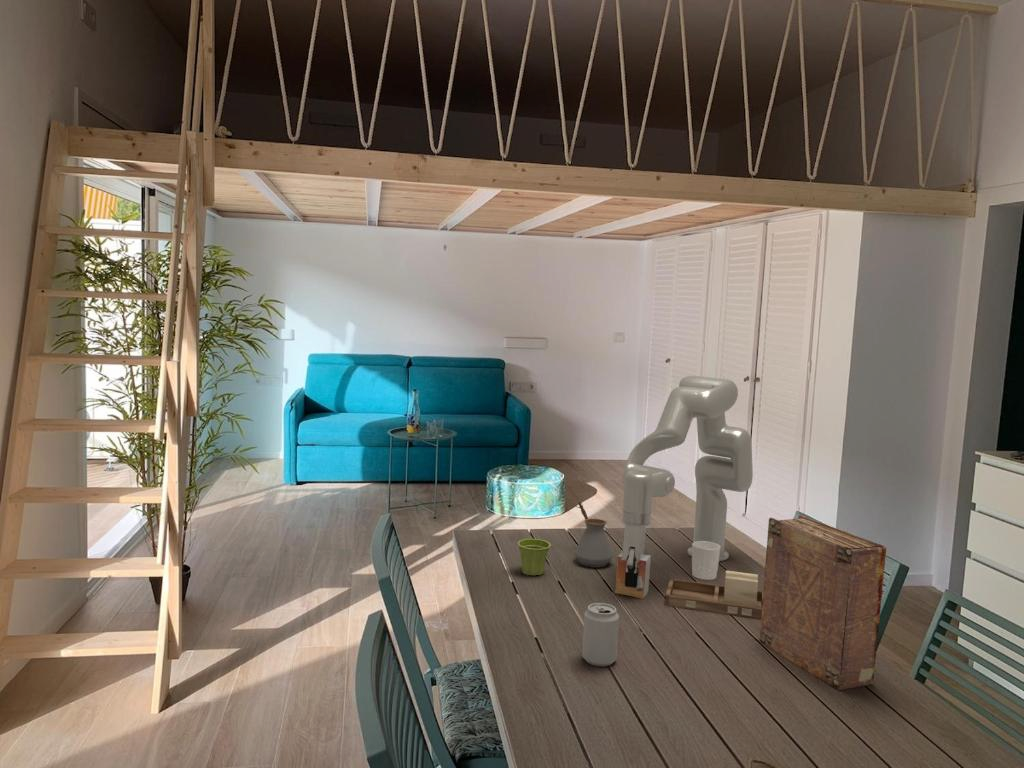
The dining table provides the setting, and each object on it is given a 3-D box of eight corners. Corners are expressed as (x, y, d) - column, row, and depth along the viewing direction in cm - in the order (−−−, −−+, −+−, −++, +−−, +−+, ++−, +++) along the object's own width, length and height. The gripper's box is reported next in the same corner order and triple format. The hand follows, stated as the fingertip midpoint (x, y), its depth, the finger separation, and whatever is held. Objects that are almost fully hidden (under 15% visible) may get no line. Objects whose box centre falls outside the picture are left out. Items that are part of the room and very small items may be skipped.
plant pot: (555, 572, 231) (556, 543, 230) (538, 581, 223) (540, 550, 222) (527, 565, 236) (528, 536, 235) (510, 573, 228) (511, 544, 227)
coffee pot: (618, 568, 236) (621, 519, 235) (581, 570, 233) (583, 520, 232) (593, 546, 257) (595, 501, 255) (559, 548, 254) (561, 501, 252)
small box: (614, 594, 215) (617, 555, 214) (620, 587, 220) (622, 550, 219) (644, 599, 212) (646, 560, 211) (648, 592, 217) (651, 554, 216)
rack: (669, 590, 219) (670, 578, 219) (764, 604, 213) (765, 591, 212) (664, 609, 206) (665, 596, 206) (766, 623, 199) (767, 610, 199)
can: (594, 670, 170) (597, 616, 168) (575, 656, 176) (578, 603, 175) (623, 664, 173) (626, 611, 172) (603, 650, 180) (606, 599, 178)
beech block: (723, 599, 212) (726, 570, 211) (755, 604, 209) (757, 574, 209) (723, 607, 206) (725, 577, 205) (755, 612, 204) (758, 582, 203)
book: (758, 641, 188) (768, 516, 185) (790, 636, 192) (799, 514, 189) (839, 691, 165) (852, 550, 162) (873, 685, 168) (886, 546, 165)
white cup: (715, 575, 234) (718, 542, 233) (720, 584, 226) (722, 550, 225) (688, 573, 235) (690, 540, 234) (691, 582, 227) (694, 548, 226)
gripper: (627, 508, 224) (623, 571, 225) (617, 524, 207) (613, 591, 209) (654, 511, 221) (650, 574, 223) (646, 527, 205) (642, 595, 207)
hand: (632, 582), depth 216 cm, fingers closed on small box, 5 cm apart
